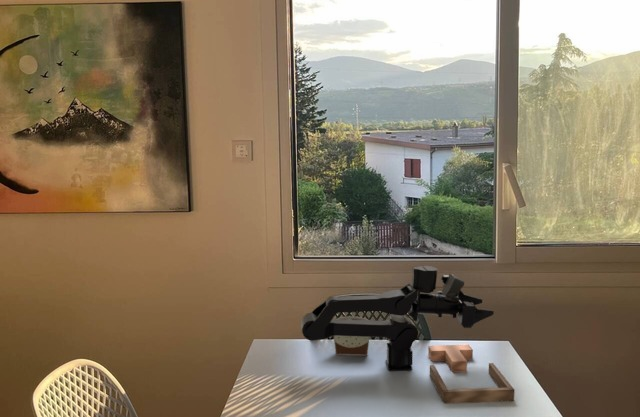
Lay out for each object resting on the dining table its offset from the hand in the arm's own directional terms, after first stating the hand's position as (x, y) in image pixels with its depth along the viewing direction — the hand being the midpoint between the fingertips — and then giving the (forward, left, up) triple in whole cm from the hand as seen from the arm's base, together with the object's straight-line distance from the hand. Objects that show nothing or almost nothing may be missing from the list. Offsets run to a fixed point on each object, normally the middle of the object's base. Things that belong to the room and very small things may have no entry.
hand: (487, 306), depth 173 cm
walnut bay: (-9, -16, -16) cm, 25 cm away
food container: (-37, +11, -17) cm, 42 cm away
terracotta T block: (-9, 0, -16) cm, 19 cm away
